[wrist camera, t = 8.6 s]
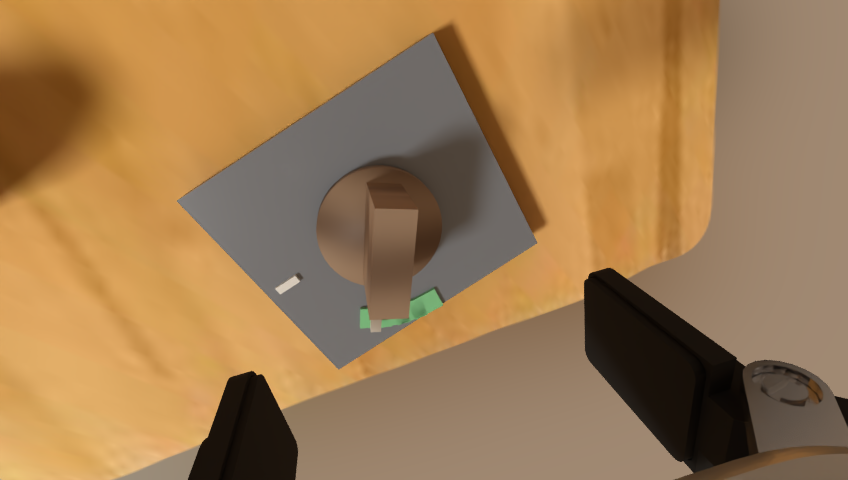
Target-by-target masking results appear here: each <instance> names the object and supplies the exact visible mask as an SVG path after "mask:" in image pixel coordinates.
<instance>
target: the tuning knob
mask: <svg viewBox="0 0 848 480" xmlns="http://www.w3.org/2000/svg"><path fill="white" fill-rule="evenodd" d="M441 233H442V217H441V213H440V209H439V206H438V203H437V201H436V200H435V198H434V196H433V194H432V193H431V192H430V190H429V189H428V188H427V187H426V186H425V185H424V184H423V183H422V182H421V181H420V180H419V179H418V178H417V177H415V176H414V175H412V174H411V173H409V172H407V171H405V170H402V169H400V168H397V167H393V166H386V165H373V166H366V167H362V168H359V169H356V170H354V171H351V172H349V173H348V174H346V175H344V176H343V177H341V178H340V179H339V180H338V181H336V182H335V183H334V184H333V185H332V187H331V188H330V189H329V190H328V192H327V193H326V194H325V196H324V198H323V200H322V202H321V205H320V208H319V211H318V216H317V226H316V234H317V241H318V245H319V248H320V251H321V253H322V255H323V257H324V259H325V260H326V262H327V263H328V264H329V266H330V267H331V268H332V269H333V270H334V271H335V272H337V273H338V274H339V275H340V276H342V277H344V278H345V279H347V280H349V281H351V282H354V283H357V284H360V285H364V287H365V293H366V300H367V307H368V313H369V320H371V322H370V330H371V332H381V323H382V320H383V319H408V318H409V310H410V299H411V287H412V277H413V276H414V275H416V274H417V273H418V272H420V271H421V270H422V269H423V268H424V267H425V266H426V265H427V264H428V263H429V261H430V260H431V259H432V257H433V255H434V254H435V252H436V250H437V248H438V245H439V242H440V239H441Z"/></svg>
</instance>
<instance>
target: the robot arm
mask: <svg viewBox="0 0 848 480" xmlns="http://www.w3.org/2000/svg"><path fill="white" fill-rule="evenodd" d="M584 306H585V307H584V308H585V351H586V355H587V357H588V359H589V361H590V362H591V363H592V365H593V366H594V367H595V368H596V369H597V370H598V371H599V373H600V374H601V375H602V376H603V377H604V378H605V380H606V381H607V382H608V383H609V384H610V385H611V386H612V388H613V389H614V390H615V391H616V392H617V393H618V394H619V396H620V397H621V398H622V399H623V400H624V401H625V402H626V404H627V405H628V406H629V407H630V408H631V409H632V410H633V412H634V413H635V414H636V415H637V416H638V417H639V419H640V420H641V421H642V422H643V423H644V424H645V425H646V427H647V428H648V429H649V430H650V431H651V432H652V433H653V435H654V436H655V437H656V438H657V439H658V440H659V441H660V443H661V444H662V445H663V446H664V447H665V448H666V450H667V451H668V452H669V453H670V454H671V455H672V456H673V457H674V458H675V459H676V460H677V461H680V462H682V461H684V462H685V464H686V465H687V466H688V467H689V468H690V469H691V470H692V471H693V474H690V475H687V476H684V477H681V478H678V479H675V480H848V399H845V398H841V397H836V396H834V394H833V392H832V391H831V390H830V388H829V387H828V385H827V384H826V383H824V382H823V381H822V380H821V379H820V378H819V377H817V376H816V375H814V374H812V373H811V372H809V371H807V370H805V369H803V368H800V367H798V366H795V365H793V364H789V363H785V362H780V361H773V360H761V361H755V362H752V363H750V364H748V365H747V366H746V367H745V366H744V365H743V364H741V363H740V362H738V361H737V360H736V359H737V358H736V357H735V356H733V355H732V354H730V353H729V352H727V351H726V350H725V349H724V348H722V347H721V346H719V345H718V344H717V343H715V342H714V341H712V340H711V339H709V338H708V337H707V336H705V335H704V334H703V333H701V332H700V331H699V330H697V329H696V328H694V327H693V326H692V325H690V324H689V323H687V322H686V321H685V320H683V319H682V318H680V317H679V316H678V315H676V314H675V313H673V312H672V311H671V310H669V309H668V308H666V307H665V306H664V305H662V304H661V303H659V302H658V301H657V300H655V299H654V298H653V297H651V296H649V295H648V294H647V293H646V292H644V291H643V290H641V289H640V288H639V287H637V286H636V285H634V284H633V283H632V282H630V281H629V280H627V279H626V278H625V277H623V276H622V275H620V274H619V273H618V272H616V271H615V270H613V269H611V268H606V269H603V270H599V271H596V272H592V273H590V274H589V276H588V279H586V280H585V282H584ZM297 457H298V448H297V443H296V440H295V438H294V436H293V434H292V432H291V430H290V428H289V426H288V424H287V422H286V420H285V418H284V416H283V414H282V412H281V410H280V408H279V406H278V404H277V402H276V400H275V398H274V396H273V394H272V392H271V390H270V388H269V386H268V384H267V382H266V380H265V378H264V376H263V375H262V374H260V375H256V373H255V372H253V371H250V372H247V373H244V374H240V375H237V376H233V377H231V378H229V380H228V382H227V384H226V387H225V390H224V393H223V396H222V399H221V401H220V404H219V407H218V410H217V413H216V416H215V418H214V421H213V424H212V427H211V430H210V433H209V436H208V438H206V439H205V440H204V441H203V442H202V444H201V446H200V448H199V450H198V453H197V456H196V459H195V461H194V464H193V467H192V470H191V473H190V475H189V478H188V480H295V477H296V466H297Z"/></svg>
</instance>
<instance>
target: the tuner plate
mask: <svg viewBox="0 0 848 480" xmlns="http://www.w3.org/2000/svg"><path fill="white" fill-rule="evenodd" d="M373 165H386V166H393V167H397V168H400V169H402V170H405V171H407V172H409V173H411V174H412V175H414V176H415V177H417V178H418V179H419V180H420V181H421V182H422V183H423V184H424V185H425V186H426V187H427V188H428V189H429V190H430V192H431V193H432V194H433V196H434V198H435V200H436V201H437V203H438V206H439V209H440V213H441V217H442V233H441V239H440V242H439V245H438V248H437V250H436V252H435V254H434V255H433V257H432V259H431V260H430V261H429V263H428V264H427V265H426V266H425V267H424V268H423V269H422V270H421V271H420V272H418V273H417V274H416V275H414V276H413V277H412V287H411V299H410V310H409V318H408V319H383V320H382V323H381V332H371V330H370V322H371V320H369V313H368V307H367V300H366V293H365V287H364V285H360V284H357V283H354V282H351V281H349V280H347V279H345V278H344V277H342V276H340V275H339V274H338V273H337V272H335V271H334V270H333V269H332V268H331V267H330V266H329V264H328V263H327V262H326V260H325V259H324V257H323V255H322V253H321V251H320V248H319V245H318V241H317V234H316V226H317V216H318V211H319V208H320V205H321V202H322V200H323V198H324V196H325V194H326V193H327V192H328V190H329V189H330V188H331V187H332V185H333V184H334V183H335V182H336V181H338V180H339V179H340V178H341V177H343V176H344V175H346V174H348V173H349V172H351V171H354V170H356V169H359V168H362V167H366V166H373ZM177 202H178V203H179V204H180V205H181V206H182V207H183V208H184V209H185V210H186V211H187V212H188V213H189V214H190V215H191V216H192V217H193V218H194V219H195V220H196V222H197V223H198V224H199V225H200V226H201V227H202V228H203V229H204V230H205V231H206V232H207V233H208V234H209V235H210V236H211V237H212V238H213V239H214V240H215V241H216V242H217V243H218V244H219V245H220V247H221V248H222V249H223V250H224V251H225V252H226V253H227V254H228V255H229V256H230V257H231V258H232V259H233V260H234V261H235V262H236V263H237V264H238V265H239V266H240V267H241V268H242V269H243V270H244V271H245V273H246V274H247V275H248V276H249V277H250V278H251V279H252V280H253V281H254V282H255V283H256V284H257V285H258V286H259V287H260V288H261V289H262V290H263V291H264V292H265V293H266V294H267V295H268V296H269V298H270V299H271V300H272V301H273V302H274V303H275V304H276V305H277V306H278V307H279V308H280V309H281V310H282V311H283V312H284V313H285V314H286V315H287V316H288V317H289V318H290V319H291V320H292V321H293V323H294V324H295V325H296V326H297V327H298V328H299V329H300V330H301V331H302V332H303V333H304V334H305V335H306V336H307V337H308V338H309V339H310V340H311V341H312V342H313V343H314V344H315V345H316V346H317V347H318V349H319V350H320V351H321V352H322V353H323V354H324V355H325V356H326V357H327V358H328V359H329V360H330V361H331V362H332V363H333V364H334V365H335V366H336V367H337V368H338V369H340V368H342V367H343V366H345V365H347V364H348V363H350V362H351V361H353V360H354V359H356V358H358V357H359V356H361V355H362V354H364V353H365V352H367V351H369V350H370V349H372V348H373V347H375V346H376V345H378V344H380V343H381V342H383V341H384V340H386V339H387V338H389V337H391V336H392V335H394V334H395V333H397V332H398V331H400V330H402V329H403V328H405V327H406V326H408V325H409V324H411V323H413V322H414V321H416V320H417V319H419V318H420V317H422V316H425V315H427V314H428V313H430V312H431V311H433V310H435V309H437V308H439V307H441V306H443V304H442V303H444V302H445V301H447V300H449V299H450V298H452V297H453V296H455V295H456V294H458V293H460V292H461V291H463V290H464V289H466V288H467V287H469V286H471V285H472V284H474V283H475V282H477V281H478V280H480V279H482V278H483V277H485V276H486V275H488V274H489V273H491V272H493V271H494V270H496V269H497V268H499V267H500V266H502V265H504V264H505V263H507V262H508V261H510V260H511V259H513V258H515V257H516V256H518V255H519V254H521V253H522V252H524V251H526V250H527V249H529V248H530V247H532V246H533V245H535V244H537V241H536V239H535V237H534V235H533V233H532V231H531V229H530V227H529V225H528V223H527V221H526V219H525V217H524V215H523V213H522V211H521V209H520V207H519V205H518V203H517V201H516V199H515V197H514V195H513V193H512V191H511V189H510V187H509V185H508V183H507V181H506V179H505V177H504V175H503V173H502V171H501V169H500V167H499V165H498V163H497V161H496V159H495V157H494V155H493V153H492V151H491V149H490V147H489V145H488V143H487V141H486V139H485V137H484V134H483V132H482V130H481V128H480V126H479V124H478V122H477V120H476V118H475V116H474V114H473V112H472V110H471V108H470V106H469V104H468V102H467V100H466V98H465V96H464V94H463V92H462V90H461V88H460V86H459V84H458V82H457V80H456V78H455V76H454V74H453V72H452V70H451V68H450V66H449V64H448V62H447V60H446V58H445V56H444V54H443V52H442V50H441V48H440V46H439V44H438V42H437V40H436V38H435V36H434V34H433V33H431V34H429V35H427V36H426V37H424V38H423V39H421V40H420V41H418V42H416V43H415V44H413V45H412V46H410V47H409V48H407V49H406V50H404V51H403V52H401V53H400V54H398V55H397V56H395V57H394V58H392V59H391V60H389V61H388V62H386V63H384V64H383V65H381V66H380V67H378V68H377V69H375V70H374V71H372V72H371V73H369V74H368V75H366V76H365V77H363V78H362V79H360V80H359V81H357V82H356V83H354V84H353V85H351V86H349V87H348V88H346V89H345V90H343V91H342V92H340V93H339V94H337V95H336V96H334V97H333V98H331V99H330V100H328V101H327V102H325V103H324V104H322V105H321V106H319V107H317V108H316V109H314V110H313V111H311V112H310V113H308V114H307V115H305V116H304V117H302V118H301V119H299V120H298V121H296V122H295V123H293V124H292V125H290V126H289V127H287V128H286V129H284V130H282V131H281V132H279V133H278V134H276V135H275V136H273V137H272V138H270V139H269V140H267V141H266V142H264V143H263V144H261V145H260V146H258V147H257V148H255V149H254V150H252V151H251V152H249V153H247V154H246V155H244V156H243V157H241V158H240V159H238V160H237V161H235V162H234V163H232V164H231V165H229V166H228V167H226V168H225V169H223V170H222V171H220V172H219V173H217V174H215V175H214V176H212V177H211V178H209V179H208V180H206V181H205V182H203V183H202V184H200V185H199V186H197V187H196V188H194V189H193V190H191V191H190V192H188V193H187V194H185V195H184V196H183V197H181V198H180V199H179V200H177Z"/></svg>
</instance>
